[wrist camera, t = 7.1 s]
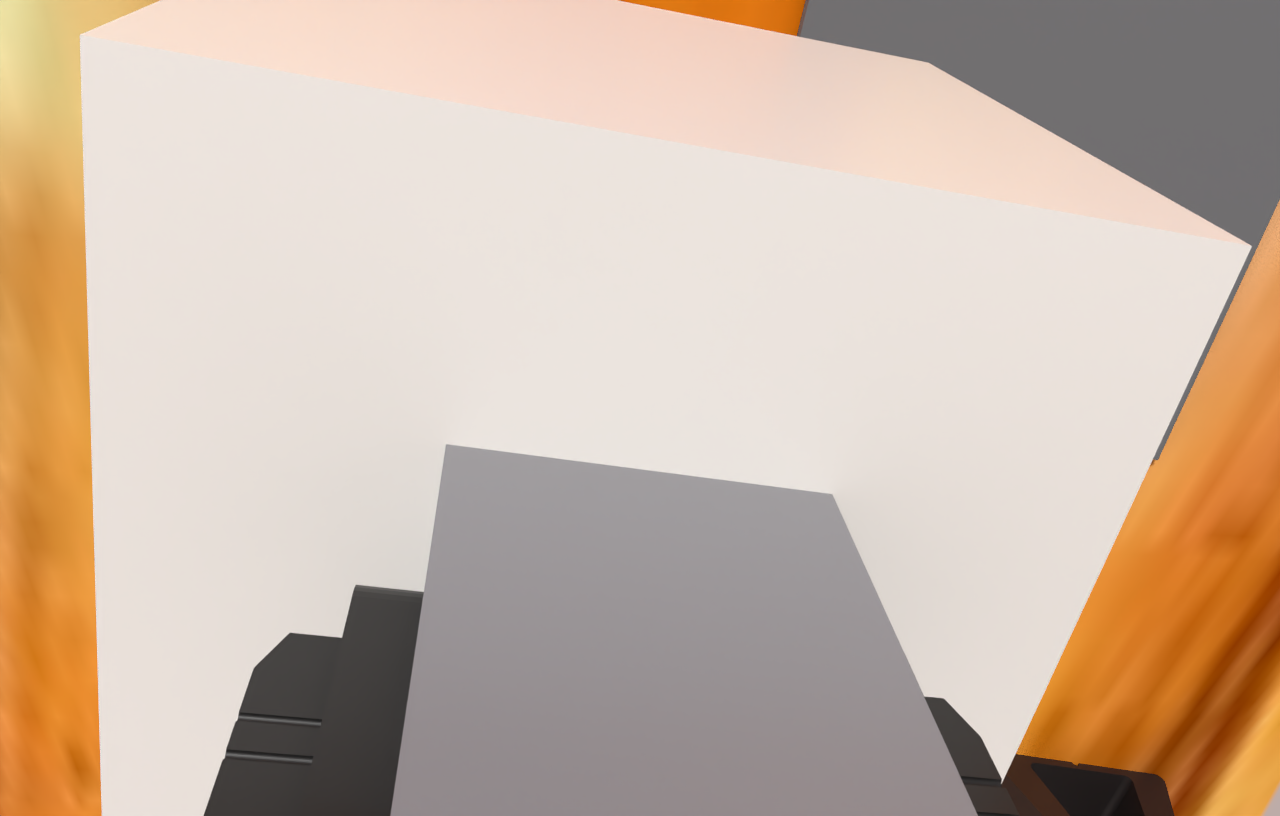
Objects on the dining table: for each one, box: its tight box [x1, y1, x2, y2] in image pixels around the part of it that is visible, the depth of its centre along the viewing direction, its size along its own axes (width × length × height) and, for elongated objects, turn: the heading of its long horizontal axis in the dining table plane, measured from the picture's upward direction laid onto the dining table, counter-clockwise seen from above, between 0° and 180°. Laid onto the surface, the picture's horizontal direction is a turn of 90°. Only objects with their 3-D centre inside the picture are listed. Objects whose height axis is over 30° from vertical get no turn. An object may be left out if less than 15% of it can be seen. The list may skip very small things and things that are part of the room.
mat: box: [797, 0, 1280, 460], centre depth 37 cm, size 18×18×1 cm
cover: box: [80, 0, 1252, 816], centre depth 14 cm, size 11×11×16 cm
